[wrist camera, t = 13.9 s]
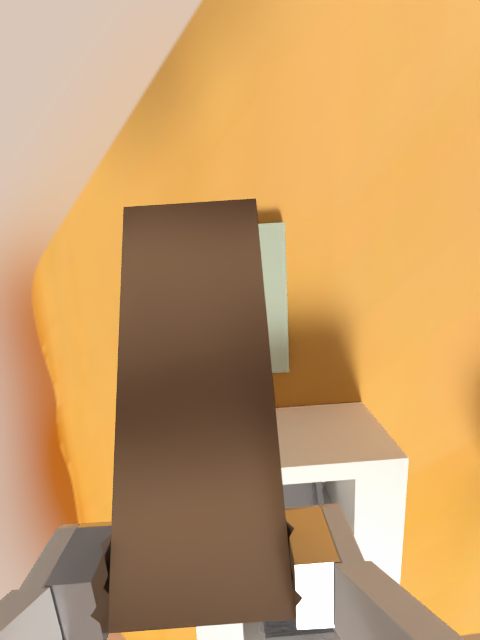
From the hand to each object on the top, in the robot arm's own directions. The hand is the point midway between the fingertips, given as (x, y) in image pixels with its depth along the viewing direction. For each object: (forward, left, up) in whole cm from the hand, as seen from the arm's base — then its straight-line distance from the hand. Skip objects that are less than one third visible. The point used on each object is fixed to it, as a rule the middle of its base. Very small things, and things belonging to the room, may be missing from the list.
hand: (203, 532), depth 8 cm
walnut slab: (-3, 0, -4) cm, 4 cm away
